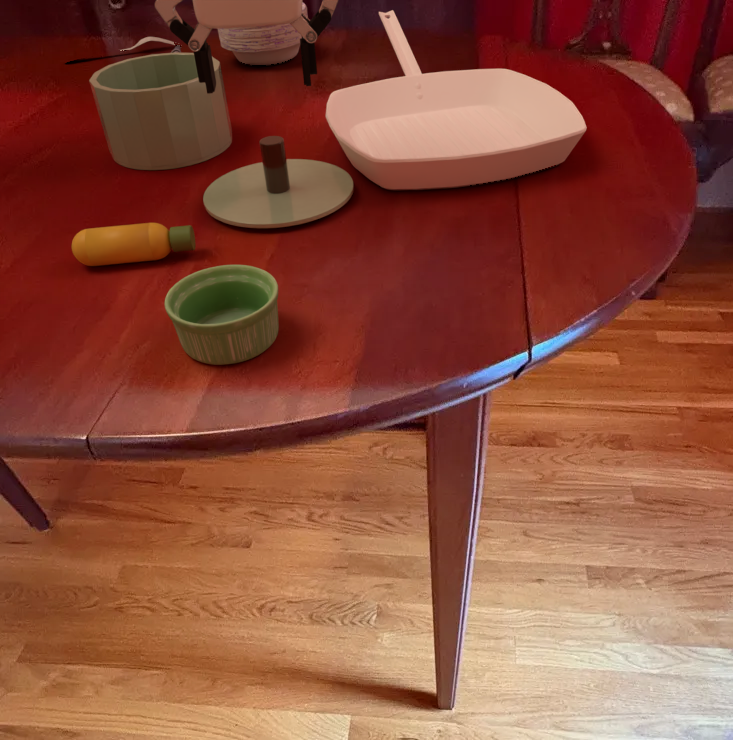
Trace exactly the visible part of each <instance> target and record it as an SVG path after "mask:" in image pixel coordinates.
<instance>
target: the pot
mask: <svg viewBox="0 0 733 740" xmlns="http://www.w3.org/2000/svg"><path fill="white" fill-rule="evenodd" d="M212 60H213V66H214V72H215V78H216V88H215V92H213V93H210V94H207V89H206V84H205V83H200V82H199V79H198V73H197V68H196V63H195V57H194V52H181V53H177V52H175V53H171V52H165V53H151V54H147V55H143V56H142V55H141V56H136V57H133V58H127V59H124V60H120V61H117V62H114V63H111V64H108V65H106V66H104V67H102V68H100V69H99V70H97V71H95V72H94V73H93V74H92V75H91V76H90V78H89V80H88V82H89V85H90V88H91V92H92V95H93V99H94V103H95V106H96V109H97V113H98V116H99V119H100V120H99V121H100V123H101V126H102V130H103V133H104V137H105V140H106V144H107V147H108V151H109V153H110V155H111V157H112V160H113V161H114V162H115V164H118V165H120V166H122V167H125V168H128V169H133V170H140V171H163V170H166V171H167V170H174V169H179V168H180V169H181V168H185V167H189V166H193V165H197V164H199V163H203V162H206V161H208V160H211V159H213V158H215V157H217V156H219V155H221V154H223V153H224V152H225V151H227V150H228V148H229V147H231V145H232V143H233V129H232V123H231V117H230V111H229V105H228V101H227V94H226V89H225V82H224V78H223V72H222V66H221V61H219V60H218V59H216V58H215V57H213V56H212Z"/></svg>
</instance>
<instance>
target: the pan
mask: <svg viewBox="0 0 733 740" xmlns="http://www.w3.org/2000/svg"><path fill="white" fill-rule="evenodd" d="M378 15H379V18H380V20H381V22H382V25H383V27H384V29H385V32H386V34H387V36H388V39H389V41H390V44H391V46H392V48H393V50H394V53H395V55H396V57H397V59H398V62H399V65H400V67H401V69H402V71H403V74H404V75H403V76H398V77H397V76H396V77H391V78H386V79H385V78H384V79H381V80H375V81H371V82H367V83H362V84H356V85H352V86H349V87H344V88H340V89H336V90H334V91H332V92H331V93H330V94H329V97H328V100H327V102H326V106H325V107H326V108H325V119H326V122H327V123H328V126H329V128H330V130H331V132H332V133H333V135H334V136H335V138H336V140H337V142H338V144H339V146H340V147H341V149H342V151H343V152H344V154H345V156H346V157H347V159H348V161H349V162H350V163H351V166H352V167H354V168H355V169H356V170H357V171H359V172H360V173H361V174H362V175H363V176H364V177H366V178H367V179H368V180H370V181H371V182H373V183H374V184H376V185H377V186H380V187H381V188H382V189H384V190H388V191H423V190H424V191H425V190H440V189H441V190H442V189H457V188H462V187H463V188H464V187H470V185H472V186H477V185H476V184H479V185H484V184H483V183H486V184H489V183H488V182H491V183H495V182H494V181H497V182H501V181H500V180H502V181H507V180H506V179H508V180H512V179H516V178H519V177H523V176H526V175H525V174H527V175H530V174H534V173H537V172H536V171H538V172H540V171H539V170H541V171H543V170H542V169H544V170H546V169H545V168H547V169H549V168H548V167H550V168H552V167H551V166H553V167H555V166H554V165H556V166H558V165H560V164H562V163H564V162H565V161H566V159H567V158H568V157H569V156H570V154H571V152H572V151H573V150H574V148H575V147H576V145H578V143H579V141H580V140H581V139H582V137H583V135H584V134H585V133H586V131H587V128H588V127H587V125H586V121H585V119H584V117H583V115H582V114H581V112H580V111H579V109H578V108H577V106H576V105H575V103H574V102H573V101H572V100H570V99H569V98H568V97H567V96H565V95H564V94H562V93H561V91H558V90H557V89H556V88H553V86H550V85H549V84H547V83H546V82H542V81H541V80H538V79H535V78H533V77H531V76H528V75H526V74H525V73H524V74H523V73H521V72H518V71H515V70H512V69H507V68H477V69H461V70H460V69H459V70H443V71H436V72H426V73H422V71H421V69H420V66H419V64H418V62H417V60H416V59H417V58H415V55H414V53H413V50H412V48H411V46H410V44H409V42H408V39H407V37H406V35H405V33H404V31H403V29H402V26H401V24H400V22H399V19H398V17H397V16H396V13H395V11H394V10H393V9H392V10H389V11H386V12H383V11H378ZM533 172H534V173H533ZM529 173H530V174H529ZM522 175H523V176H522ZM518 176H519V177H518ZM515 177H516V178H515ZM511 178H512V179H511Z"/></svg>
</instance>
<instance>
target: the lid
mask: <svg viewBox="0 0 733 740" xmlns="http://www.w3.org/2000/svg"><path fill="white" fill-rule="evenodd" d="M259 149H260V156H261V162H256V163H252V164H248V165H245V166H244V165H243V166H242V167H239V168H235V169H234V170H231V171H228V172H227V173H225V174H223V175H221V176H219V177H218V178H216V179H215V180H214V181H213V182H211V183H210V184H209V185H208V186H207V188H206V189H205V191H204V193H203V196H202V202H203V207H204V209H205V211H206V212H207V213H208V215H210V216H211V217H212V218H214V219H215V220H217V221H219V222H222V223H223V224H228V225H231V226H234V227H241V228H249V229H277V228H285V227H286V228H287V227H292V226H298V225H303V224H306V223H310V222H313V221H317V220H318V219H319V220H320V219H322V218H324V217H327V216H329V215H331V214H332V213H335V212H336V211H338V210H339V209H341V208H342V207H343V206H345V205H346V204H347V203H348V202H349V200H351V198H352V195H353V193H354V191H355V188H354V187H355V186H354V180H353V178H352V176H351V175H350V174H349V172H347V170H345V169H343V168H341V167H340V166H338V165H335V164H332V163H329V162H326V161H322V160H321V161H320V160H314V159H306V158H305V159H303V158H287V153H286V147H285V139H284V137H282V136H280V135H268V136H265V137H262V138H260V139H259Z"/></svg>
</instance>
